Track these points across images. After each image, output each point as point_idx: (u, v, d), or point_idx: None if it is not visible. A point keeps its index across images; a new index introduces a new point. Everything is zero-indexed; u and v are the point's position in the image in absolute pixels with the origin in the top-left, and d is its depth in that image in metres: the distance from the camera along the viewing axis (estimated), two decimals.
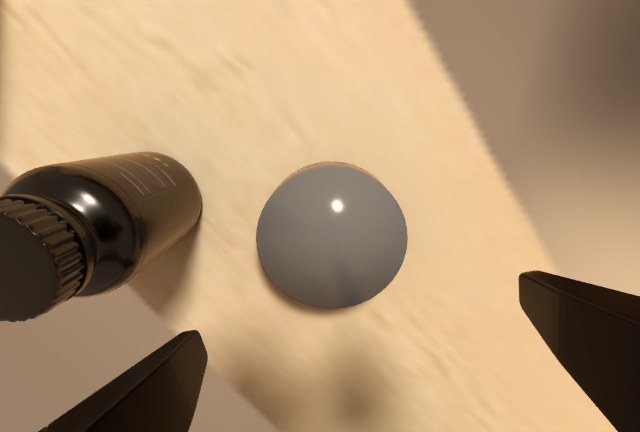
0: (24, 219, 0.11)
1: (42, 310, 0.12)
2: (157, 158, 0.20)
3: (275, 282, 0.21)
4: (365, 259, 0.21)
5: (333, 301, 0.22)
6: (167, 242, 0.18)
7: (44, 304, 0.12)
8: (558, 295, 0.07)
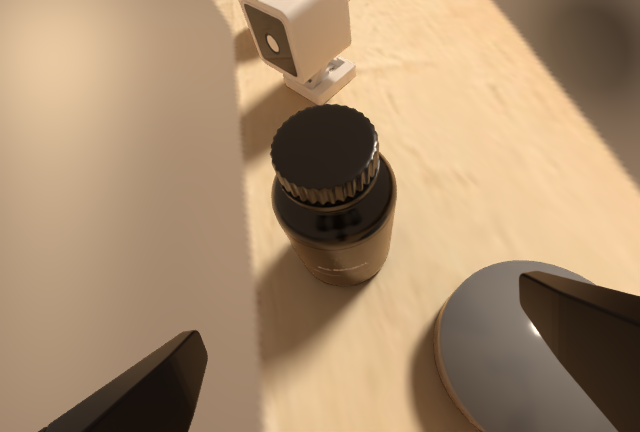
0: (370, 123, 0.14)
1: (332, 185, 0.12)
2: None
3: (451, 371, 0.16)
4: None
5: None
6: (373, 253, 0.18)
7: (338, 181, 0.12)
8: (558, 295, 0.07)
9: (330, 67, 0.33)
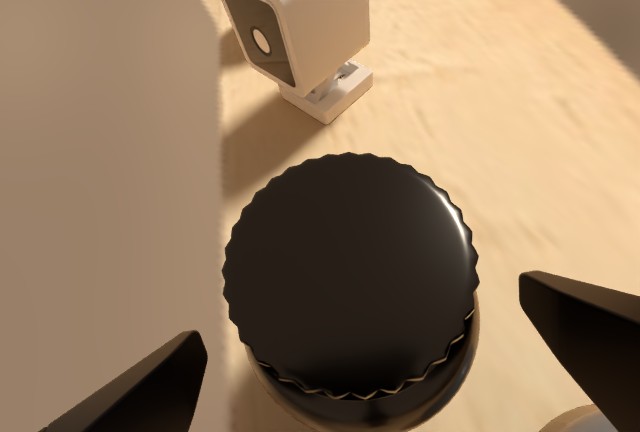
0: (448, 201, 0.06)
1: (371, 387, 0.05)
2: None
3: None
4: None
5: None
6: None
7: (387, 374, 0.05)
8: (558, 295, 0.07)
9: (339, 74, 0.26)
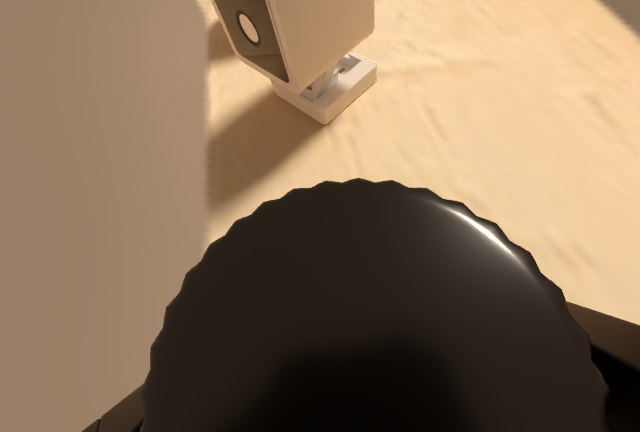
0: (530, 267, 0.04)
1: None
2: None
3: None
4: None
5: None
6: None
7: None
8: None
9: (339, 68, 0.23)
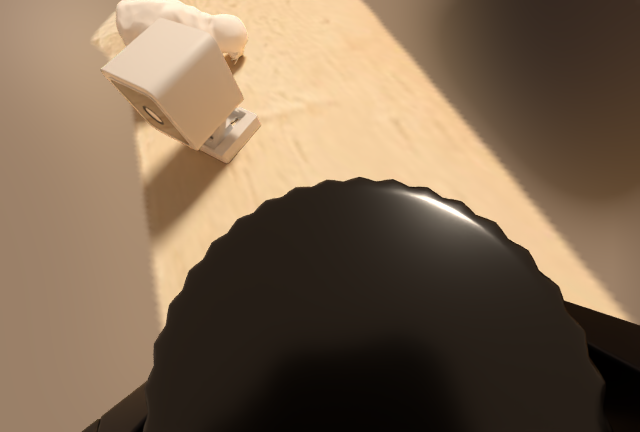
0: (528, 265, 0.04)
1: None
2: None
3: None
4: None
5: None
6: None
7: None
8: None
9: (234, 119, 0.31)
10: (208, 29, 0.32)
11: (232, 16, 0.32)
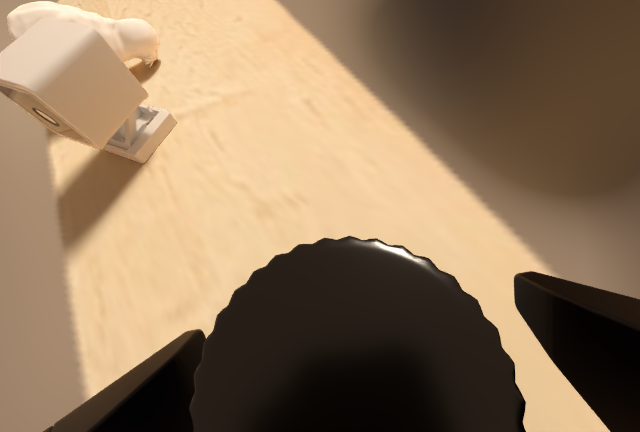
0: (478, 310, 0.05)
1: None
2: None
3: None
4: None
5: None
6: None
7: None
8: (552, 296, 0.07)
9: (149, 119, 0.31)
10: (112, 34, 0.31)
11: (138, 20, 0.32)
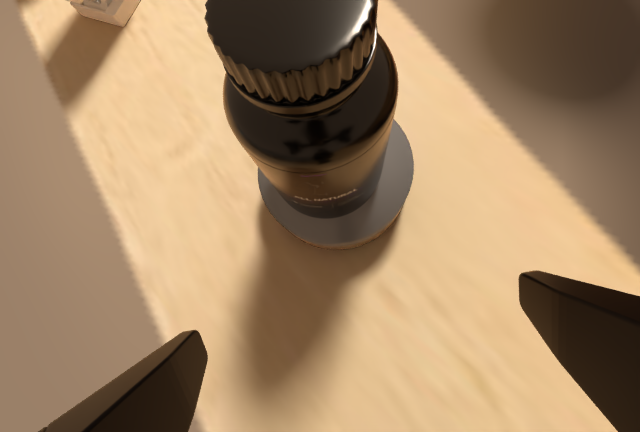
0: None
1: (305, 65, 0.08)
2: None
3: (269, 207, 0.20)
4: None
5: (331, 233, 0.19)
6: (364, 177, 0.14)
7: (314, 58, 0.08)
8: (558, 295, 0.07)
9: None
10: None
11: None
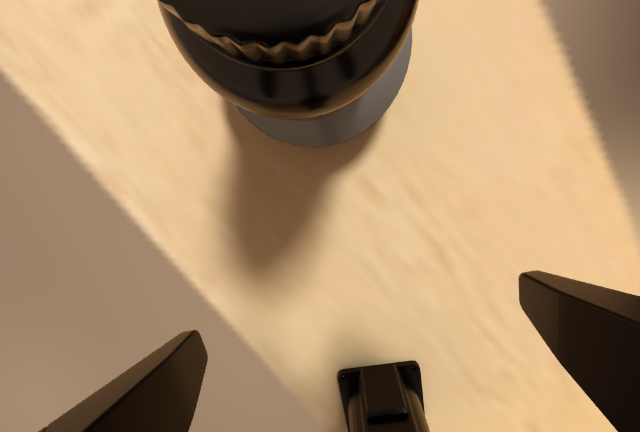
0: None
1: (303, 34, 0.05)
2: None
3: None
4: None
5: (313, 136, 0.17)
6: None
7: (317, 21, 0.05)
8: (558, 295, 0.07)
9: None
10: None
11: None
